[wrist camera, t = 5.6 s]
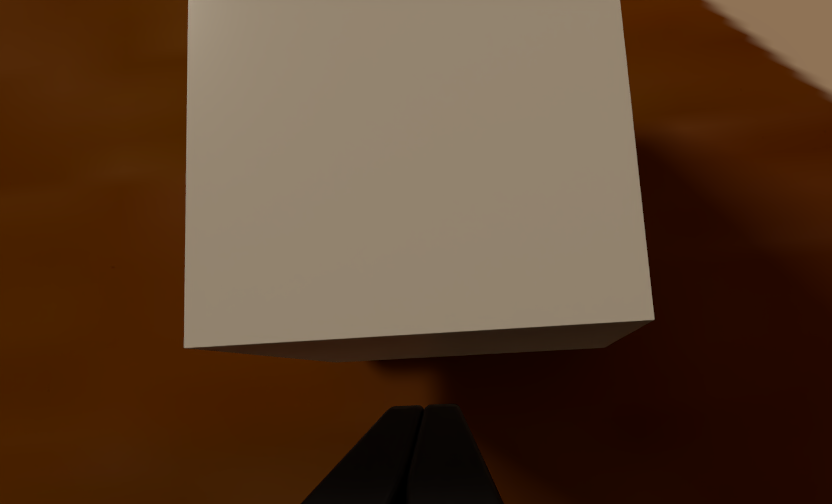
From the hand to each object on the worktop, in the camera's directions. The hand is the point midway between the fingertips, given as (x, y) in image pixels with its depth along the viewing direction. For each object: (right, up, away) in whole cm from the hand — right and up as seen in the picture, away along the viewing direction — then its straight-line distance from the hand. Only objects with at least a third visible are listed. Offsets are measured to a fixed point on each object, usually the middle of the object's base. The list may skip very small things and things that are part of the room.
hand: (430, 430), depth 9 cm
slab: (+1, +3, +5) cm, 6 cm away
